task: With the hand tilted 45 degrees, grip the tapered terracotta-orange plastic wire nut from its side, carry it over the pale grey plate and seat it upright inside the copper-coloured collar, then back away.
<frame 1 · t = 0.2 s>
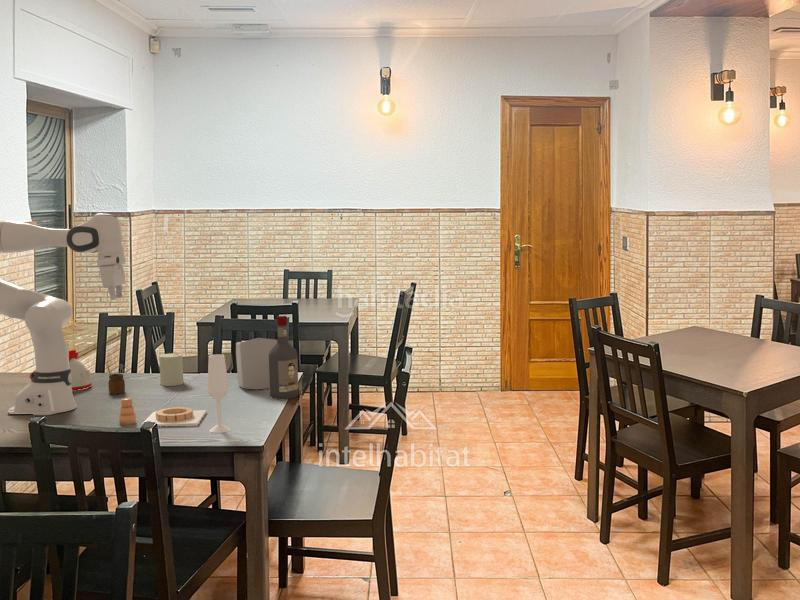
hand: (116, 298, 312), 39 cm above the table, tool pointing down, fingers open, 8 cm apart
champagne flute: (219, 430, 284), on the table
collar plate: (174, 420, 298), on the table
utensil holder: (116, 393, 342), on the table
kitchen timer: (73, 388, 353), on the table
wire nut: (127, 423, 295), on the table
can: (172, 384, 358), on the table
liquor: (284, 397, 330), on the table
electrical switch box: (257, 386, 351), on the table
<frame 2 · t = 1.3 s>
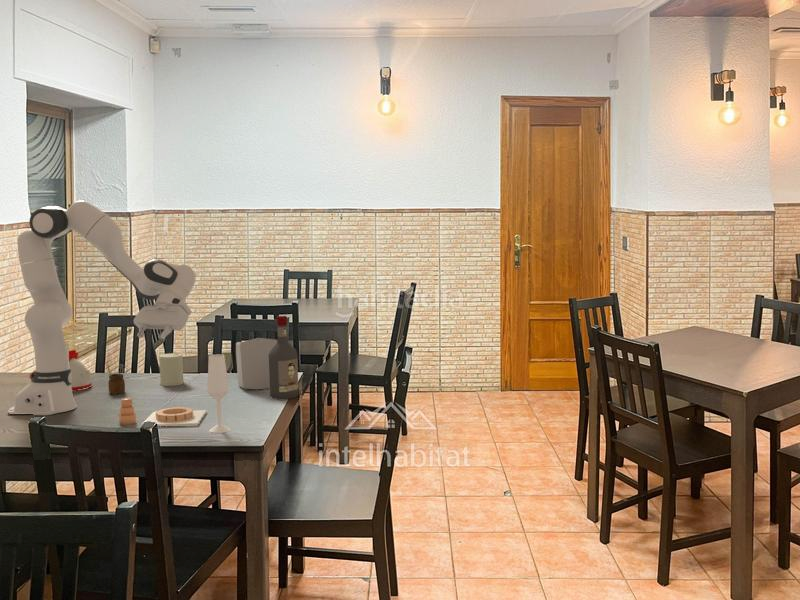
hand: (150, 337, 303), 27 cm above the table, tool tilted 45°, fingers open, 8 cm apart
nothing on the table moved.
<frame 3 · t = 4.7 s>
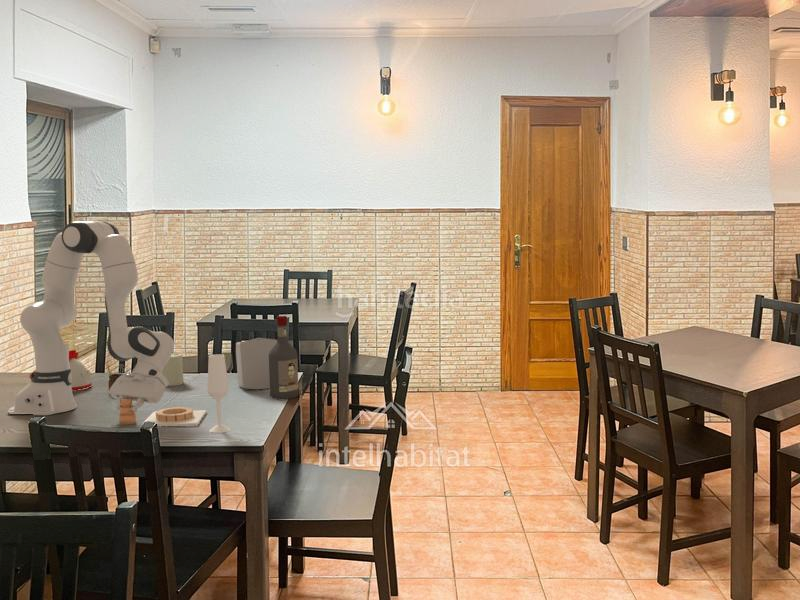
hand: (125, 410, 294), 4 cm above the table, tool tilted 45°, fingers closed on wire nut, 4 cm apart
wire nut: (127, 423, 295), on the table, touching gripper
everything else where it was.
when the fingers open (6 cm above the table, at t = 10.0 s): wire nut stays where it is, resting on collar plate.
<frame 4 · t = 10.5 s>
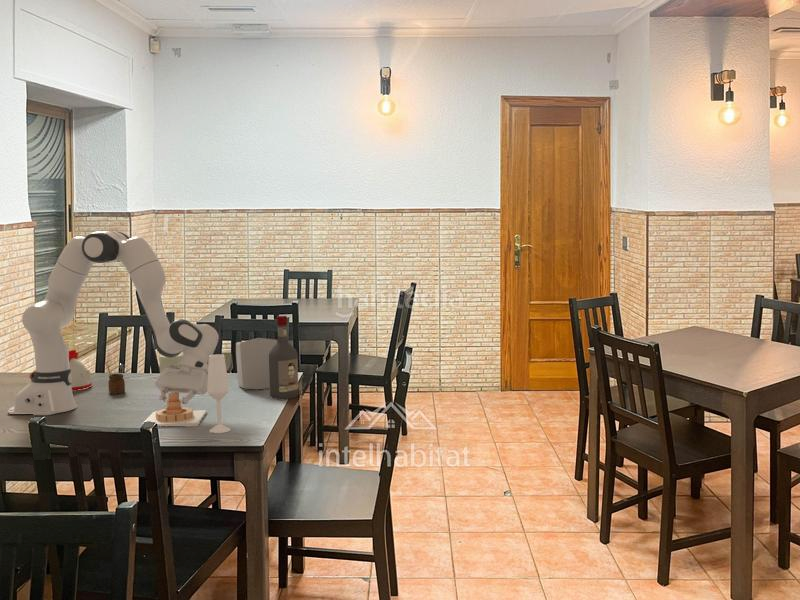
hand: (172, 401, 297), 6 cm above the table, tool tilted 45°, fingers open, 8 cm apart
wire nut: (174, 417, 298), point 1 cm above the table, touching collar plate
everything else where it was.
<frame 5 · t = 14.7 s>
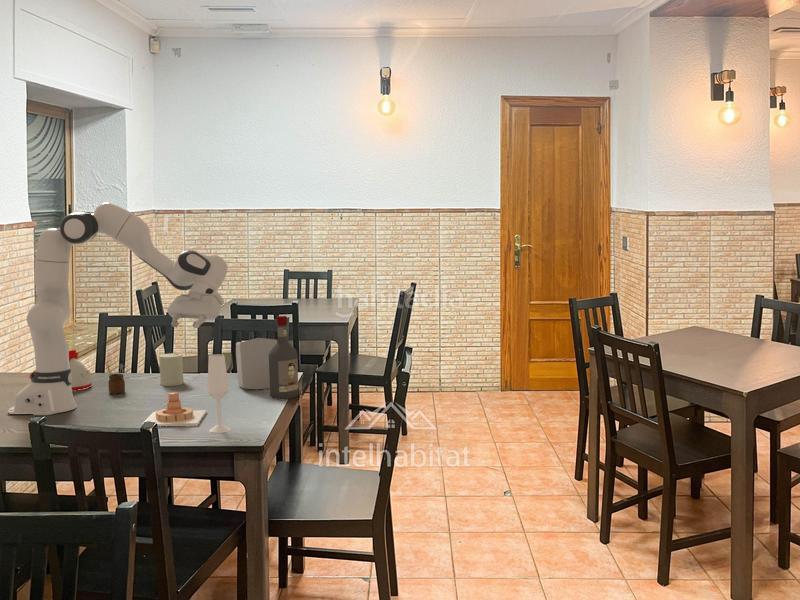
hand: (184, 326, 309), 29 cm above the table, tool tilted 45°, fingers open, 8 cm apart
nothing on the table moved.
at the end: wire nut 0.1 cm from the collar plate (horizontally); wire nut tilted 0°; the gripper is holding nothing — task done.
